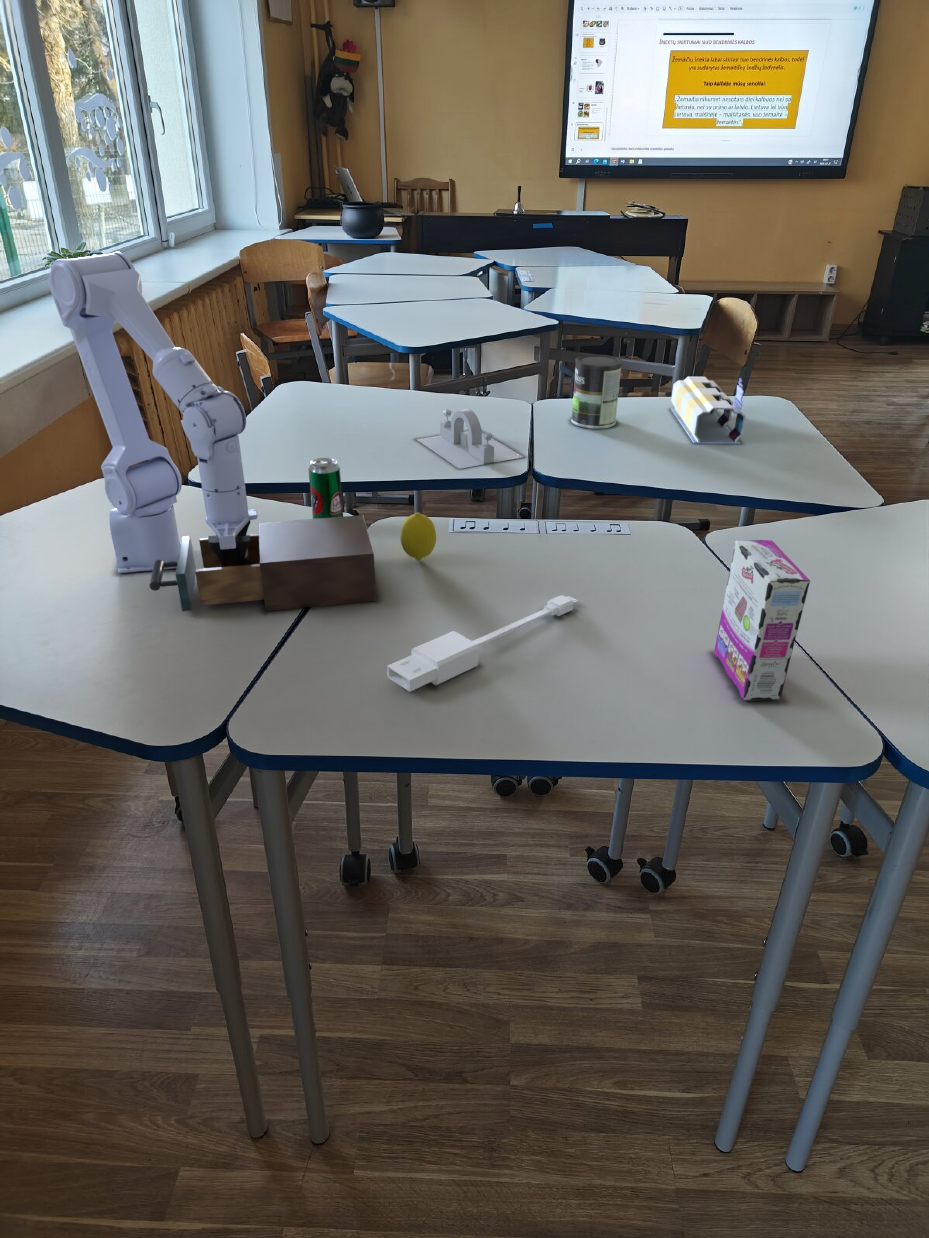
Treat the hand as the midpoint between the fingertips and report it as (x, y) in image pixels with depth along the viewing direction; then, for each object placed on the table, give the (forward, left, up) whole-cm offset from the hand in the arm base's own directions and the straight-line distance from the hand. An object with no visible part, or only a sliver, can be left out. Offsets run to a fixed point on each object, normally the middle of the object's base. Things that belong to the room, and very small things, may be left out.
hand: (236, 573), depth 124 cm
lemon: (+28, +5, -3) cm, 28 cm away
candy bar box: (+63, -35, -3) cm, 72 cm away
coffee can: (+79, +67, -3) cm, 103 cm away
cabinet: (+12, 0, -3) cm, 12 cm away
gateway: (+47, +55, -3) cm, 72 cm away
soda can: (+15, +19, -3) cm, 24 cm away
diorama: (+102, +60, -3) cm, 119 cm away
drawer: (-2, 0, -2) cm, 3 cm away
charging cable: (+33, -22, -3) cm, 39 cm away
